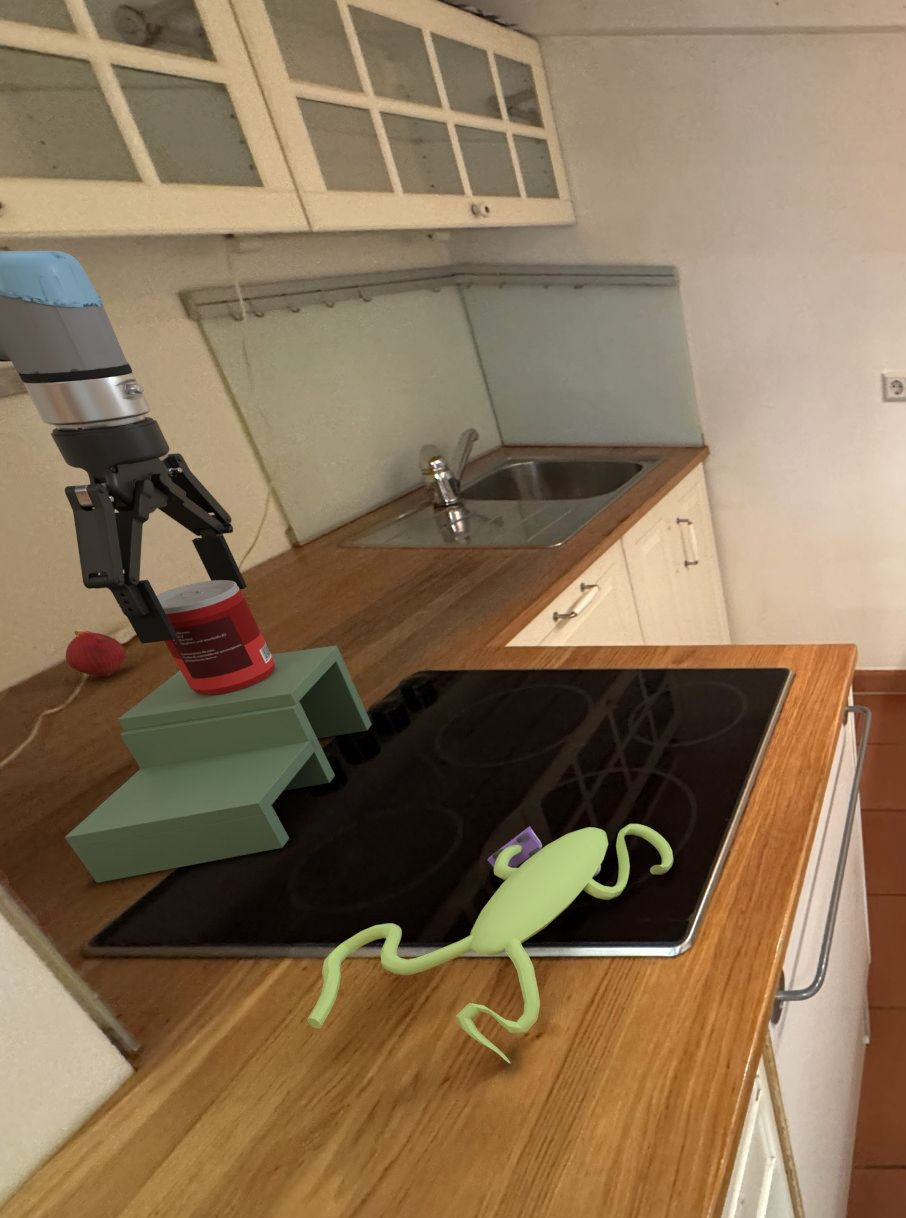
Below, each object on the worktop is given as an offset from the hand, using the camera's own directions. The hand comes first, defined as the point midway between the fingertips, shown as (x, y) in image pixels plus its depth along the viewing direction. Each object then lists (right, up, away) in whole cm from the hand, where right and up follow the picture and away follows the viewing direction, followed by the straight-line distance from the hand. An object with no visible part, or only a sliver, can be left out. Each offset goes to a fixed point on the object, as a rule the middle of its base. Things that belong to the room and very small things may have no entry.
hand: (198, 613), depth 85 cm
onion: (-44, -10, +31) cm, 55 cm away
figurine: (+45, -29, -17) cm, 57 cm away
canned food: (+1, -8, +4) cm, 9 cm away
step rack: (+3, -21, +4) cm, 21 cm away
